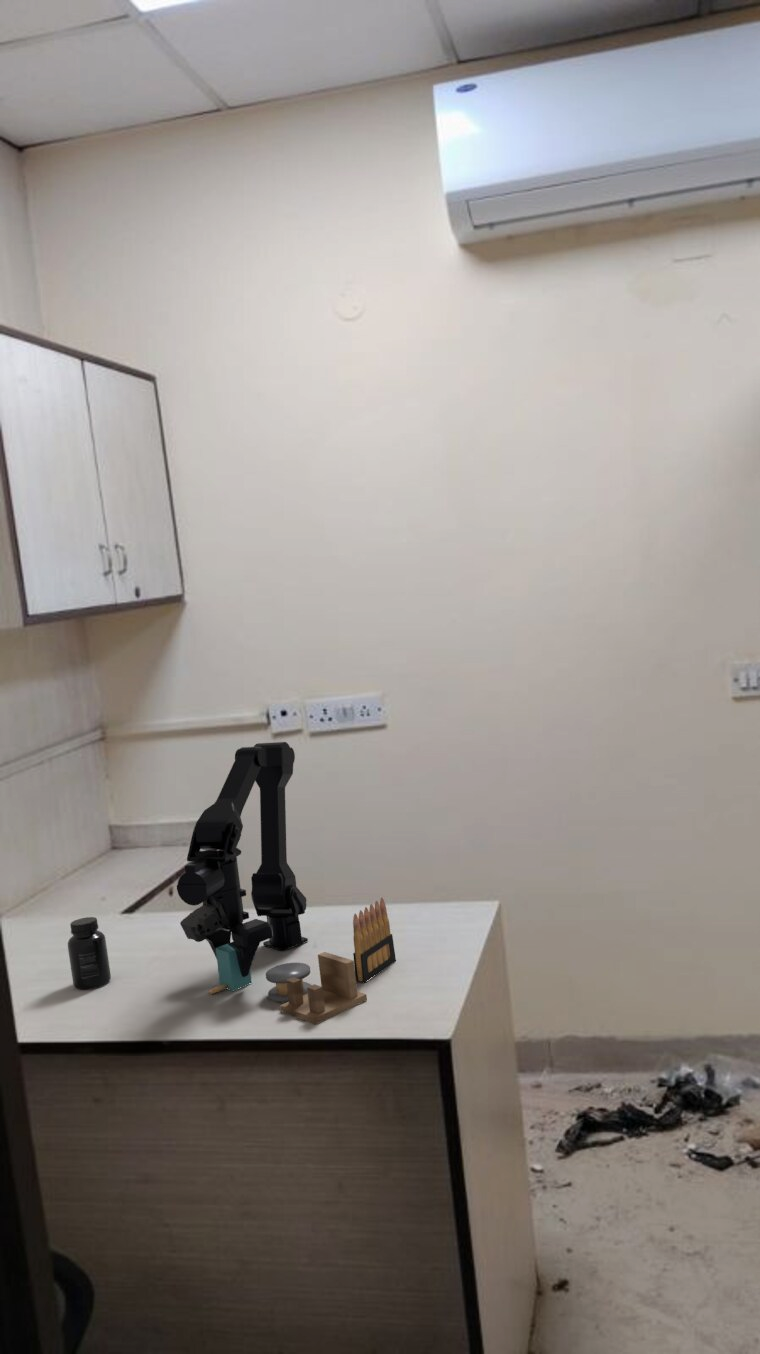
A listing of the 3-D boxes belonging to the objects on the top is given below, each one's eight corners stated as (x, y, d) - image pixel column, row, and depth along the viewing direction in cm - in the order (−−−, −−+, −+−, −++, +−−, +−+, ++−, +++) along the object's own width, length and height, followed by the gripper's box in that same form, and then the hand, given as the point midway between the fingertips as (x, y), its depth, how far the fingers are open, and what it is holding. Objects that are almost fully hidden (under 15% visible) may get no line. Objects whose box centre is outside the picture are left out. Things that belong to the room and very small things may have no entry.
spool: (259, 996, 176) (256, 973, 176) (294, 981, 181) (291, 959, 181) (286, 1006, 171) (283, 983, 170) (321, 990, 176) (319, 968, 175)
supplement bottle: (118, 976, 193) (110, 914, 192) (97, 991, 187) (88, 927, 186) (87, 976, 196) (79, 914, 195) (65, 990, 189) (56, 927, 188)
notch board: (280, 1011, 169) (275, 969, 168) (332, 988, 176) (327, 948, 176) (315, 1024, 162) (310, 981, 162) (367, 1000, 170) (362, 958, 169)
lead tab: (203, 993, 181) (198, 954, 180) (238, 978, 186) (234, 941, 185) (216, 998, 178) (211, 958, 177) (251, 983, 183) (247, 945, 182)
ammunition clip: (364, 983, 177) (356, 915, 176) (355, 982, 178) (347, 914, 177) (396, 960, 186) (388, 896, 185) (387, 959, 187) (380, 895, 186)
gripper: (156, 891, 183) (167, 976, 184) (214, 908, 169) (226, 1000, 170) (209, 875, 190) (219, 956, 192) (269, 889, 177) (280, 977, 178)
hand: (234, 972), depth 183 cm, fingers open, 6 cm apart
